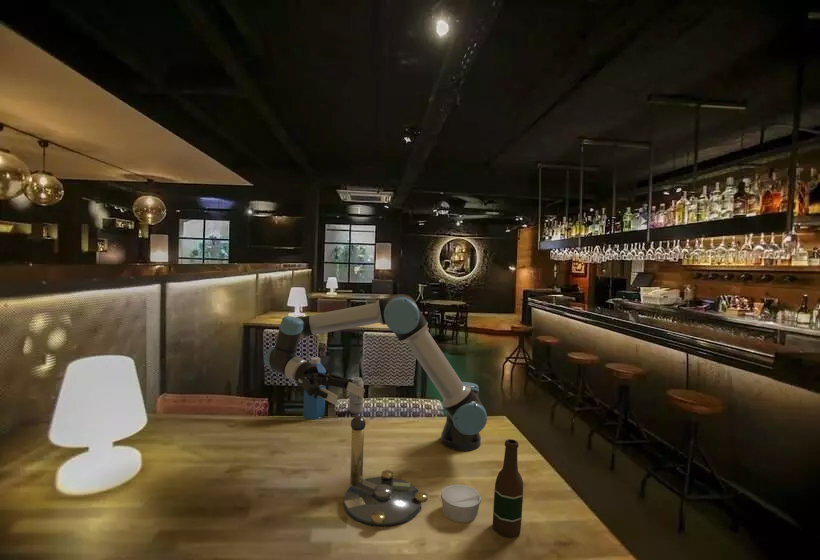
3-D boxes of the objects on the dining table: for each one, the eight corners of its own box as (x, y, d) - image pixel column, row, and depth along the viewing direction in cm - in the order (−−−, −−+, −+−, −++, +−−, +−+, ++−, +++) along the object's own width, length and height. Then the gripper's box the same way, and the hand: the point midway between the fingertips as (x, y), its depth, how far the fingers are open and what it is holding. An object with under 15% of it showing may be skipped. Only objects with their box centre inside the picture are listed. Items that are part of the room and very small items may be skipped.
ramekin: (469, 530, 115) (470, 511, 115) (432, 515, 121) (433, 497, 121) (486, 510, 125) (487, 492, 125) (451, 497, 131) (451, 480, 130)
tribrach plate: (427, 482, 138) (428, 472, 138) (426, 535, 113) (427, 523, 113) (352, 477, 140) (353, 468, 139) (334, 528, 114) (335, 516, 114)
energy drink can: (356, 415, 192) (357, 381, 191) (346, 411, 195) (347, 378, 194) (365, 411, 197) (366, 378, 196) (355, 408, 200) (356, 375, 199)
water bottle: (329, 413, 193) (330, 357, 191) (317, 420, 184) (319, 362, 182) (310, 410, 196) (311, 354, 194) (298, 417, 187) (300, 359, 185)
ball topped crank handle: (395, 494, 127) (397, 424, 125) (384, 502, 123) (387, 430, 121) (355, 478, 135) (358, 412, 133) (345, 485, 131) (347, 417, 129)
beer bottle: (488, 520, 120) (493, 434, 118) (516, 519, 121) (521, 435, 119) (496, 539, 112) (501, 447, 111) (526, 538, 113) (531, 448, 111)
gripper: (324, 378, 158) (370, 401, 147) (270, 387, 136) (320, 415, 126) (329, 358, 158) (376, 380, 147) (276, 364, 136) (327, 390, 125)
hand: (350, 396), depth 136 cm, fingers open, 13 cm apart
